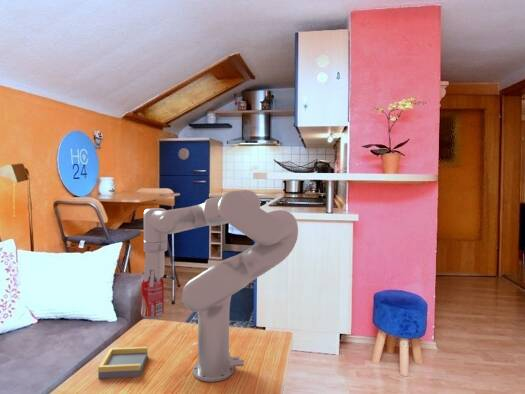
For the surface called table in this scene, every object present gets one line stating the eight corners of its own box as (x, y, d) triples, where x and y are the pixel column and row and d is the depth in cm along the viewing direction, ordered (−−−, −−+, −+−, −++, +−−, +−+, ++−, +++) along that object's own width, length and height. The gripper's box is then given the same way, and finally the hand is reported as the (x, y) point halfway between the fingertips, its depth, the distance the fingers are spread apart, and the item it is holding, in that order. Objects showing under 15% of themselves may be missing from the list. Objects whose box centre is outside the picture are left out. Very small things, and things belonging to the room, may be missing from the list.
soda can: (168, 314, 124) (168, 275, 123) (153, 321, 117) (153, 280, 117) (151, 310, 127) (151, 272, 126) (136, 317, 120) (136, 277, 120)
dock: (147, 356, 125) (147, 346, 125) (140, 376, 113) (139, 365, 113) (110, 358, 123) (109, 348, 123) (98, 378, 112) (98, 367, 111)
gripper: (149, 241, 130) (149, 292, 132) (137, 251, 114) (137, 309, 116) (171, 241, 131) (171, 292, 132) (162, 251, 115) (162, 309, 116)
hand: (155, 300), depth 124 cm, fingers closed on soda can, 2 cm apart
